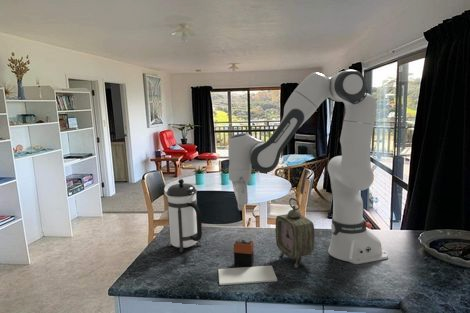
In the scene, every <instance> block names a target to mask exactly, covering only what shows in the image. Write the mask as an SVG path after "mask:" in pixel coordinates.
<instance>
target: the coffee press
mask: <svg viewBox="0 0 470 313" xmlns="http://www.w3.org/2000/svg"><path fill="white" fill-rule="evenodd" d="M197 191H198V190H197V188H196V187H195V185H193V184H190V183H184V179H183V178H180V179H179V180H178V183H175V184H172V185H170V186H169V187H168V188H167V191H165V192H166V193H165V194H166V196H167V201H166V202H167V216H168V231H169V232H168V233H169V234H168V235H169V241H168V243H167V247H171V246H173V247H175V248H178V249H179V253H180V254H183V253H184V249H185V248H189V247H192V246H194V245H196V246H198V247H201V246H202V241H201V239H202V237H203V236H202V235H203V234H202V233H203V228H202V226H203V225H202V224H203V223H202V214H201V210H200V208H199V206H198V202H197V201H198V199H197ZM198 242H199V243H198ZM169 243H170V244H169Z"/></svg>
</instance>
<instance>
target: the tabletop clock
mask: <svg viewBox="0 0 470 313" xmlns="http://www.w3.org/2000/svg"><path fill="white" fill-rule="evenodd" d="M291 201H295V202H296V204H297V205H298V206H297V208H296V205H294V204H293V205H292V204H291V203H292V202H291ZM288 204H289V207H290V209H291V210H289V211H288V212H287V213H286V214H281V215H277V216H276V217H275V242H276V246H277V248H278V249H279V250H280V252H279V255H280V256H281V257H284V256H287V257H288V258H290V259H295V263H294V268H296V269H299V267H300V266H299V260H301V259H302V257H306V256H310V255H312V253H313V252H314V248H315V225H314V222H313V221H311V220H310V219H309V218H308V217H305V216H304V215H302V214H301V212H300V211H299V210H300V208H301V207H300V206H301V205H300V203H299V201H298V199H297V198H294V197H291V198H289V201H288Z"/></svg>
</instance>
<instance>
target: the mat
mask: <svg viewBox="0 0 470 313" xmlns="http://www.w3.org/2000/svg"><path fill="white" fill-rule="evenodd" d="M271 282H278V278H277V276H276V273H275V271H274V268H273V265H259V266H252V267H231V268H229V267H228V268H218V285H219V286H227V285H241V284H242V285H243V284H244V285H245V284H256V283H271Z"/></svg>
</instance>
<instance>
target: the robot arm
mask: <svg viewBox="0 0 470 313" xmlns="http://www.w3.org/2000/svg"><path fill="white" fill-rule="evenodd" d="M326 99H327V100H330V101H331V102H336V103H338V102H340V103H341V102H342V103H343V104H344V108H345V113H344V118H343V122H342V126H341V127H342V129H341V133H340V137H339V143H340V146H341V155H337V156H334V157H332V158H331V159H330V160H329V162H328V163H327V172H328V175H329V179H330V189H331V192H332V205H333V206H332V218H331V224H330V225H331V226H330V227H331V238H330V239H331V240H330V244H329V246H328V250H327V253H328V254H329V256H331V257H333V258H335V259H337V260H341V261H344V262H349V263H351V264H354V265H359V264H360V265H361V264H366V263H372V262H377V261H382V260H386V259H389V254H388V252H387V251H386V249H384V248H383V247H382V242H381V240H380V239H379V237H377V236H376V235H375V234H374V233H372V232H371V231H370V230H369V229H371V228H372V223H370V222H367V221H366V220H364V219H363V215H364V214H363V210H364V202H363V198H362V196H361V193H360V191H366V190H367V189H368V188H370V187H371V186H372V184H373V182H374V177H375V175H374V172H373V169H372V166H371V165H372V163H371V142H372V137H373V132H374V128H375V123H376V116H377V99H376V97H374V96H373V95H372V94H370V93H369V91H368V87H367V83H366V79H365V77H364V75H363V74H362V73H361V72H360V71H358V70H355V69H346V70H343V71H341V70H340V71H339V72H336V73H335V74H333V75H330V76H329V77H328V76H326V75H325V74H323V73H320V72H311V73H310V74H309V75H307V76H306V77H305V78H304V79H303V80H302V81H301V82H299V84H298V85H297V86H296V88H294V90H293V92H291V94H290V96H289V97H288V98H287V100H286V102H285V104H284V107H283V116H282V119H281V121H280V123H279V124H278V126H277V127H276V129H275V130H274V131H273V132H272V134H271V135H270V136H269V138H268V139H267V140H266V141H264V140H260V139H258V138H256V137H254V136H252V135H250V133H247V132H244V133H242V132H241V133H236V134H234V135H232V136H231V137H230V138H229V140H228V153H227V155H228V160H229V164H228V180H229V181H230V182H231V183H232V188H233V192H234V195H235V199H236V202H237V209H238V211H243V210H244V206H246V205H248V203H249V202H248V201H249V200H248V198H249V197H248V194H249V193H248V184H249V181H251V180H252V167H253V169H254V170H255V171H257V172H259V173H263V174H265V173H266V174H267V173H270V172H272V171H274V170H275V169H276V168H277V166H278V165H279V163H280V159H281V155H282V152H283V151H284V149H285V148H286V147H287V145H288V143H289V142H290V141H291V140H292V138H293V136H294V135H295V133H297V131H298V130H299V129H300V128H301V127H302V126H303V124H305V122H307V121H308V120H309V119H310V118H311V116H312V115H313V114H314V113H315V112H316V111H317V109H318V108H319V107H320V106H321V104H322V103H323V102H324V101H325V100H326Z"/></svg>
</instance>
